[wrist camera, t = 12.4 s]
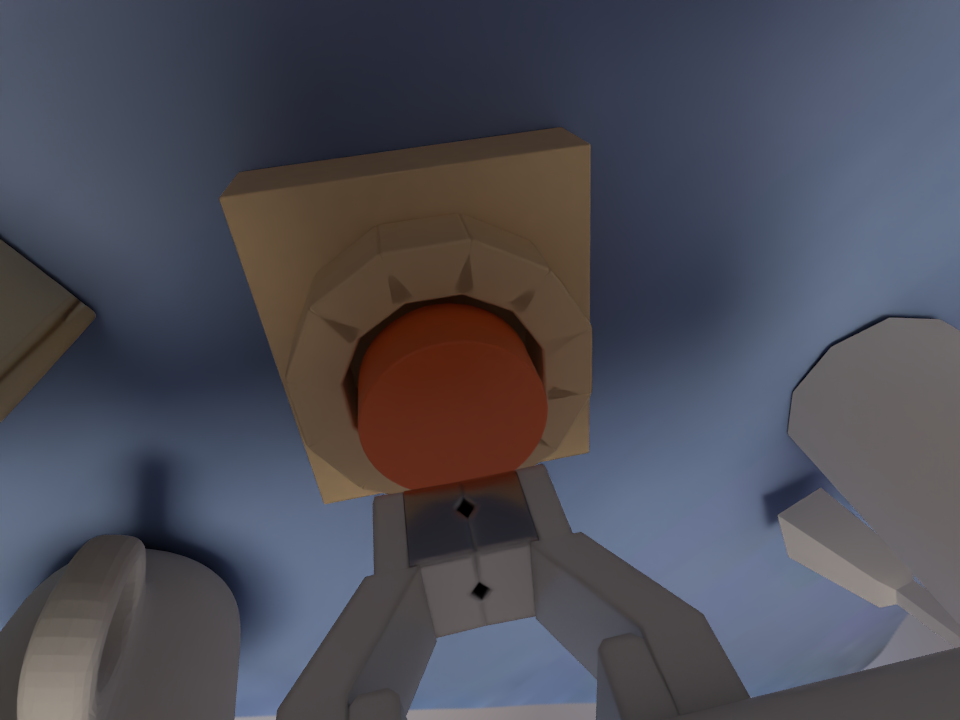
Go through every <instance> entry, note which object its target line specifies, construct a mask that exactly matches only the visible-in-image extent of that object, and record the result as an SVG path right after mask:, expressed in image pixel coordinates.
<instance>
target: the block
mask: <svg viewBox="0 0 960 720" xmlns="http://www.w3.org/2000/svg"><path fill="white" fill-rule="evenodd" d="M590 172H591V145H590V144H589V143H587V142H586V141H584V140H582V139H581V138H579V137H577V136H576V135H574V134H572V133H571V132H569V131H567V130H566V129H564V128H562V127H558V128H551V129H543V130H536V131H529V132H522V133H515V134H508V135H501V136H493V137H486V138H479V139H472V140H465V141H458V142H451V143H443V144H436V145H429V146H422V147H415V148H408V149H401V150H393V151H386V152H379V153H372V154H365V155H358V156H351V157H343V158H336V159H329V160H322V161H315V162H308V163H301V164H293V165H286V166H279V167H272V168H265V169H258V170H251V171H244V172H239V173H238V174H237V175H236V176H235V178H234V179H233V180H232V181H231V183H230V184H229V185H228V187H227V188H226V189H225V191H224V192H223V193H222V195H221V196H220V197H219V200H220V203H221V206H222V209H223V211H224V214H225V217H226V220H227V223H228V226H229V229H230V232H231V235H232V238H233V241H234V243H235V246H236V249H237V252H238V255H239V258H240V261H241V264H242V267H243V270H244V273H245V275H246V278H247V281H248V284H249V287H250V290H251V293H252V296H253V299H254V302H255V305H256V307H257V310H258V313H259V316H260V319H261V322H262V325H263V328H264V331H265V334H266V337H267V339H268V342H269V345H270V348H271V351H272V354H273V357H274V360H275V363H276V366H277V368H278V371H279V374H280V377H281V380H282V383H283V386H284V389H285V392H286V395H287V398H288V400H289V403H290V406H291V409H292V412H293V415H294V418H295V421H296V424H297V427H298V430H299V432H300V435H301V438H302V441H303V444H304V447H305V450H306V453H307V456H308V459H309V462H310V464H311V467H312V470H313V473H314V476H315V479H316V482H317V485H318V488H319V491H320V493H321V496H322V499H323V502H324V504H328V503H333V502H339V501H344V500H349V499H354V498H359V497H364V496H369V495H374V494H379V493H385V494H394V493H400V492H404V491H407V490H410V489H407V488H404V487H402V486H400V485H398V484H396V483H394V482H392V481H390V480H389V479H388V478H386V477H385V476H383V475H382V474H381V473H380V472H379V471H378V470H377V469H376V468H375V467H374V466H373V464H372V463H371V462H370V461H369V459H368V458H367V456H366V454H365V452H364V451H363V448H362V445H361V443H360V439H359V434H358V377H359V370H360V366H361V363H362V359H363V357H364V355H365V353H366V351H367V349H368V347H369V346H370V344H371V343H372V341H373V340H374V338H375V337H376V336H377V335H378V334H379V333H380V332H381V331H382V330H383V329H384V328H385V327H386V326H388V325H389V324H390V323H391V322H393V321H394V320H396V319H397V318H399V317H401V316H403V315H405V314H407V313H409V312H411V311H413V310H416V309H419V308H422V307H426V306H430V305H436V304H445V303H453V304H465V305H471V306H474V307H478V308H482V309H484V310H487V311H489V312H491V313H493V314H495V315H497V316H498V317H500V318H502V319H503V320H504V321H505V322H507V323H508V324H509V325H510V326H511V327H512V328H513V329H514V330H515V331H516V332H517V334H518V335H519V337H520V338H521V340H522V342H523V344H524V346H525V348H526V350H527V352H528V354H529V356H530V358H531V360H532V363H533V365H534V367H535V369H536V371H537V373H538V375H539V377H540V379H541V381H542V384H543V386H544V388H545V392H546V395H547V402H548V416H547V421H546V426H545V429H544V432H543V435H542V438H541V439H540V441H539V443H538V445H537V447H536V448H535V450H534V451H533V453H532V454H531V455H530V456H529V457H528V459H527V460H526V461H525V462H524V463H523V464H522V465H521V466H520V467H518V468H517V469H521V468H526V467H530V466H534V465H536V464H538V463H539V462H543V461H548V460H553V459H559V458H564V457H569V456H574V455H579V454H584V453H588V452H589V398H590V395H591V392H592V327H591V324H590Z"/></svg>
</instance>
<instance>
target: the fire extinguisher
mask: <svg viewBox="0 0 960 720" xmlns="http://www.w3.org/2000/svg"><path fill="white" fill-rule="evenodd" d="M788 435H789V436H790V437H791V438H792V439H793V441H794V442H795V443H796V444H797V445H798V446H799V447H800V448H801V449H802V451H803V452H804V453H805V454H806V455H807V456H808V457H809V458H810V460H811V461H812V462H813V463H814V464H815V465H816V466H817V467H818V468H819V470H820V471H821V472H822V473H823V474H824V475H825V476H826V477H827V478H828V480H829V481H830V482H831V483H832V484H833V485H834V486H835V487H836V488H837V490H838V491H839V492H840V493H841V494H842V495H843V496H844V497H845V499H846V500H847V501H848V502H849V503H850V504H851V505H852V506H853V507H854V509H855V510H856V511H857V512H858V513H859V514H860V515H861V516H862V517H863V519H864V520H865V521H866V522H867V523H868V524H869V525H870V526H871V527H872V529H873V530H874V531H875V532H876V533H877V534H876V533H875V532H874V531H873V530H872V529H870V528H869V527H868V526H867V525H866V524H864V523H863V522H862V521H861V520H860V519H858V518H857V517H856V516H855V515H854V514H852V513H851V512H850V511H849V510H847V509H846V508H845V507H844V506H843V505H841V504H840V503H839V502H838V501H837V500H835V499H834V498H833V497H832V496H831V495H829V494H828V493H827V492H826V491H825V490H823V489H822V488H819V489H818V490H816V491H814V492H813V493H811V494H810V495H808V496H807V497H805V498H803V499H802V500H800V501H799V502H797V503H796V504H794V505H792V506H791V507H789V508H788V509H786V510H785V511H783V512H781V513H780V514H778V515H777V516H778V519H779V523H780V527H781V531H782V535H783V538H784V542H785V546H786V550H787V554H788V557H790V558H791V559H793V560H795V561H797V562H799V563H800V564H802V565H804V566H806V567H808V568H809V569H811V570H813V571H815V572H817V573H818V574H820V575H822V576H824V577H826V578H827V579H829V580H831V581H833V582H835V583H836V584H838V585H840V586H842V587H844V588H845V589H847V590H849V591H851V592H852V593H854V594H856V595H858V596H860V597H861V598H863V599H865V600H867V601H869V602H870V603H872V604H874V605H876V606H878V607H879V608H881V607H885V606H890V605H894V604H898V605H899V606H900V607H902V608H903V609H904V610H906V611H907V612H908V613H910V614H911V615H912V616H913V617H915V618H916V619H917V620H919V621H920V622H921V623H923V624H924V625H925V626H927V627H928V628H929V629H931V630H932V631H933V632H934V633H936V634H937V635H938V636H940V637H941V638H942V639H943V640H945V641H946V642H948V643H949V644H950V645H951V646H953V647H954V648H958V647H960V331H959V330H958V329H956V328H954V327H953V326H951V325H949V324H948V323H946V322H944V321H942V320H941V319H916V318H888V319H886V320H884V321H882V322H880V323H878V324H876V325H874V326H872V327H870V328H868V329H866V330H864V331H862V332H860V333H858V334H856V335H854V336H852V337H850V338H848V339H846V340H844V341H842V342H840V343H838V344H836V345H834V346H832V347H831V348H830V349H829V350H828V351H827V352H826V354H825V355H824V356H823V357H822V358H821V360H820V361H819V362H818V363H817V364H816V365H815V367H814V368H813V369H812V370H811V371H810V373H809V374H808V375H807V376H806V377H805V378H804V380H803V381H802V382H801V383H800V384H799V386H798V387H797V388H796V389H795V390H794V391H793V395H792V403H791V410H790V418H789V426H788ZM913 574H914V575H915V577H916V578H917V579H918V580H919V581H920V582H921V583H922V584H923V585H924V587H925V588H926V589H925V588H924V587H922V586H921V585H920V584H918V583H917V582H915V581H914V580H913Z"/></svg>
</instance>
